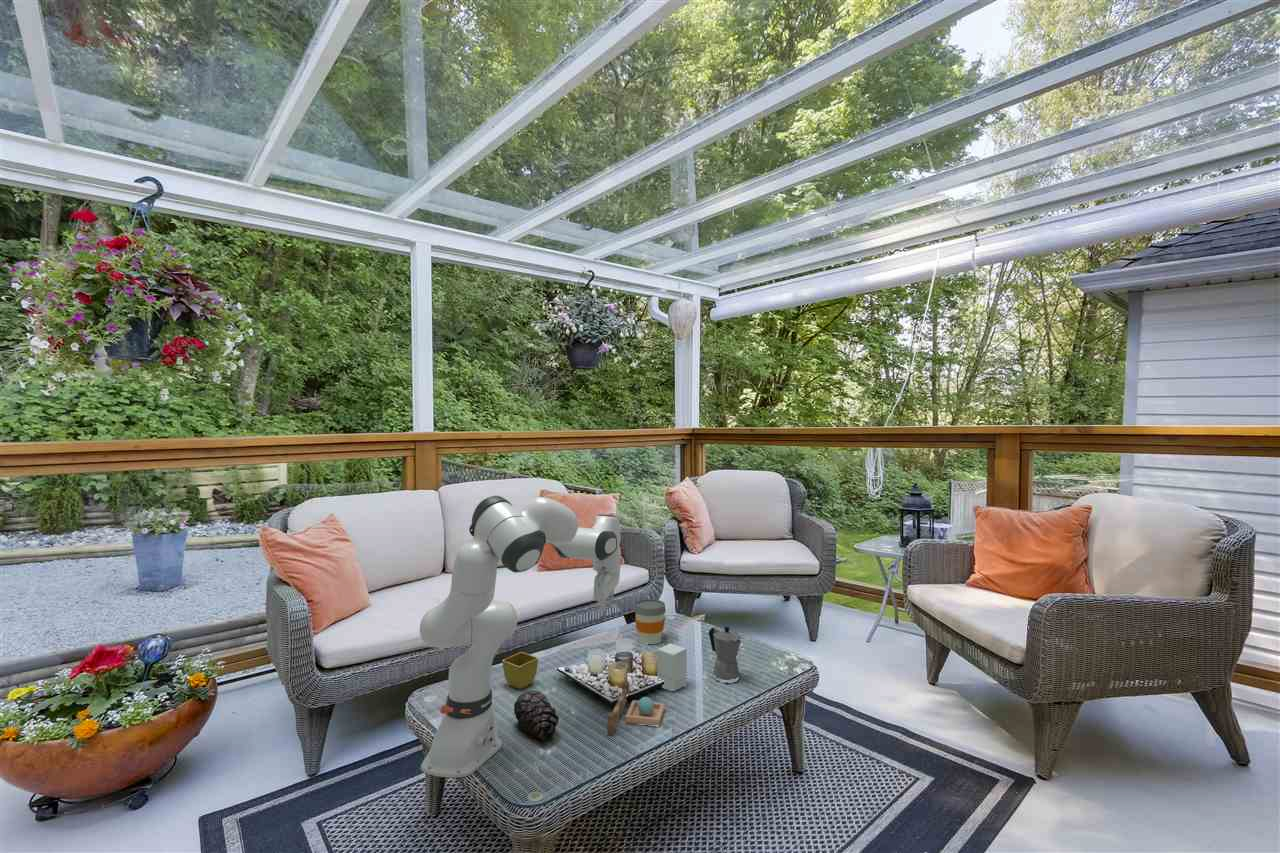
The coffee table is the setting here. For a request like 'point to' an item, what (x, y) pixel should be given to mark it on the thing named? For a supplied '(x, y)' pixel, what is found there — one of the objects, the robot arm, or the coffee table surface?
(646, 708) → the ball
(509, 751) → the coffee table surface
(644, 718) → the wooden tray
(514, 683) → the flower pot
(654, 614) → the reusable coffee cup
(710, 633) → the coffeepot
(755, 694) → the coffee table surface
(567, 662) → the coffee table surface
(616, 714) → the fence
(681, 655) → the supplement box
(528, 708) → the pine cone
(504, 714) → the coffee table surface
